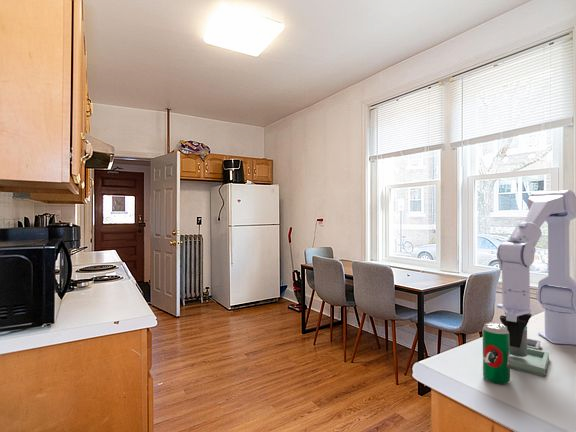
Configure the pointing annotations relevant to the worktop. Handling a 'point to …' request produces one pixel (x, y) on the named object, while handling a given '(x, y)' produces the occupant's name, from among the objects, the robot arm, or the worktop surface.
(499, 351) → the soda can
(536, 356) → the tray
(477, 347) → the worktop surface
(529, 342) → the collar
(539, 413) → the worktop surface
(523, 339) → the cylinder
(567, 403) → the worktop surface
